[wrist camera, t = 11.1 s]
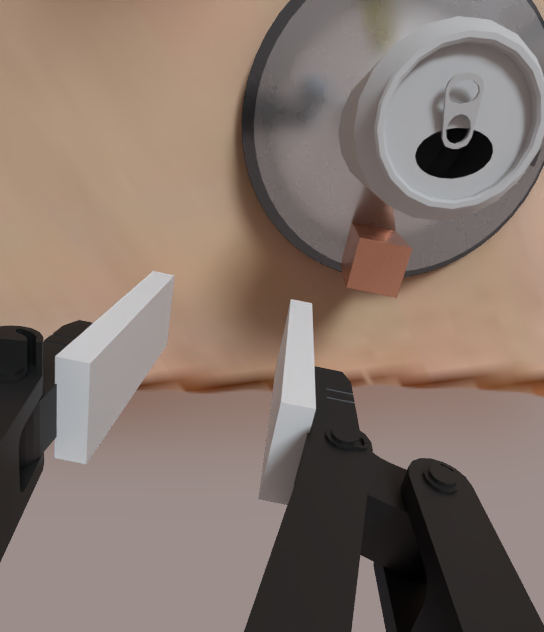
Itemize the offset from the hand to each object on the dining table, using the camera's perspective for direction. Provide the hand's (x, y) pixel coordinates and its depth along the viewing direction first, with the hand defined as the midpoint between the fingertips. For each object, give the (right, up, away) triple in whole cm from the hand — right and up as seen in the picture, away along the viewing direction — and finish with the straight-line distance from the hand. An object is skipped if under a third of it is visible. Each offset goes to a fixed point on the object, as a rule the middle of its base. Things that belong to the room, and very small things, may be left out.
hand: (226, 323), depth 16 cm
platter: (+10, +12, +13) cm, 20 cm away
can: (+9, +12, +12) cm, 19 cm away
